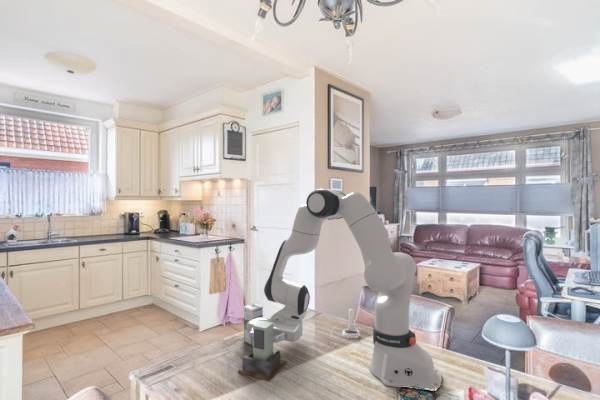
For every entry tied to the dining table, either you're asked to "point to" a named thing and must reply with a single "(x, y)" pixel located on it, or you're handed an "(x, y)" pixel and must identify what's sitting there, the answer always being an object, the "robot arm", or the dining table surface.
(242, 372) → the bracket socket
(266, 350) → the pale green block
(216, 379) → the dining table surface
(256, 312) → the syrup box
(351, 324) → the white vr controller
